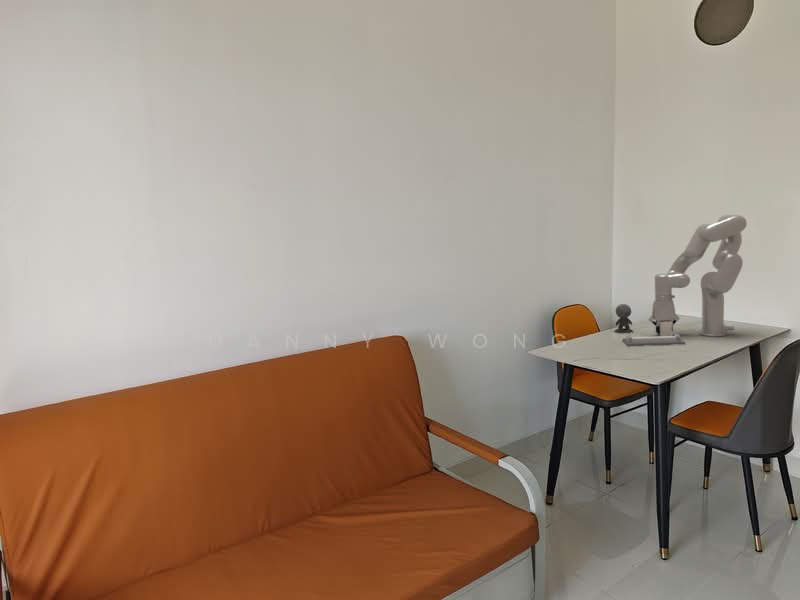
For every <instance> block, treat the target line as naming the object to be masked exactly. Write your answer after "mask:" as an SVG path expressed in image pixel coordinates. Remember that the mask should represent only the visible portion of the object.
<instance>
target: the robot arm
mask: <svg viewBox="0 0 800 600" xmlns="http://www.w3.org/2000/svg"><path fill="white" fill-rule="evenodd" d="M746 227H747V220H746V218H745V217H744V216H742V215H739V214H726V215H722V216H720V217H719V218H718V220H717V222H715V223H704V224H701V225H699V226H698V227H697V228H696V230H695V231H694V233H693V235H692V237H691V238H690V240H689V242H688V244H687V245H686V247H685V249H684V250H683V252H682V253H681V254H680V255H679V256H678V257H677V258H676V259H675V260H674V262H673V263H672V265H671V266H670V268H669V270H668V272H667V273H658V274H656V275H655V277H654V299H655V300H653V303H652V312H651V315H650V316H649V318H648V319H647V321H649V322H650V323H651V324H653V325H654V326H655V332H656V335H657V334H660V327H659V323H660V321H667V320H669V321H670V322H672V333H673V330H674V328H673V327H674V325H675V324H676V323H677V322H678V321H679V320H680V319H681V318H680V317H679V316H678V314H677V313H676V308H675V303H674V300H673V299H675V295H673V293H672V292H673V291H672V289H674V288H675V289H684V288H686V287H688V286H689V285H690V283H691V277H689V275H688V274H686V272H687V270H688V268H689V267H690V266H691V265H692V264H695V263H696V262H698V261H700V260H701V259H702V258H703V257H704V254H705V253H706V251H707V249H708V247H709V246H710V244H711V243H714V242H715V243H716V242H718V241H721V242H720V243H719V244H720V245H719V246H718V248H717V250H716V252H715V255H714V257H713V258H712V266H713V267H714V268H715V270H717V271H708V272H705V273H704V274H703V275H702V277H701V279H700V288H701V301H702V302H701V304H702V305H701V329H700V330H698V332H697V333H698V334H699V335H701V336H706V337H725V336H727V335H728V331H735V326H734V325H733V326H730V325H725V323H724V315H725V312H724V311H725V310H724V309H725V295H724V294H725V293H728V292H729V291H730V290H732V289H733V287H734V284H735V283H736V281H737V279H738V277H739V275H740V272H741V271H742V268H743V262H744V261H743V258H742V257H741V255H740V254H738V253H739V250H740V249H741V245H742V241H743V239H742V238H743V236H742V232H743V231H744V230H745V229H746ZM654 320H655V321H654Z"/></svg>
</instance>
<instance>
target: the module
mask: <svg viewBox="0 0 800 600" xmlns="http://www.w3.org/2000/svg"><path fill="white" fill-rule="evenodd" d="M659 327H660V334H657V333H656V335H657V336H673V332H672V322H670V321H669V320H667V321H660V323H659Z"/></svg>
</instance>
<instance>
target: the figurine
mask: <svg viewBox="0 0 800 600" xmlns="http://www.w3.org/2000/svg"><path fill="white" fill-rule="evenodd" d="M615 315H616V316H617V317H618V318H619V319H618V320H617V321H616V322H615V326H616V327H617V326H618V327H617V328H616V329H615V330H614V332H615V333H616V334H624V333H628V334H631V332H632V333H634V331H633V329H631V328H630V326H633V323H632V321H631V319H629V317H630V316H631V315H632V309H631V307H630V306H629V305H628V304H625V303H621V304H618V305H617V307H616V308H615Z"/></svg>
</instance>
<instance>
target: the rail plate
mask: <svg viewBox="0 0 800 600" xmlns="http://www.w3.org/2000/svg"><path fill="white" fill-rule="evenodd" d="M625 337H626V338H622V342H623V341H624V342H625V343H626V344H625V343H624V342H623V343H624V344H625V345H626V346H627V347H642V346H643V345H651V346H670V345H669V344H685V345H686V341H684V340H683V339H681V335H680V334H678V333H673V335H672V336H660V335H657V336H631V335H626V336H625ZM643 347H644V346H643Z"/></svg>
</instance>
